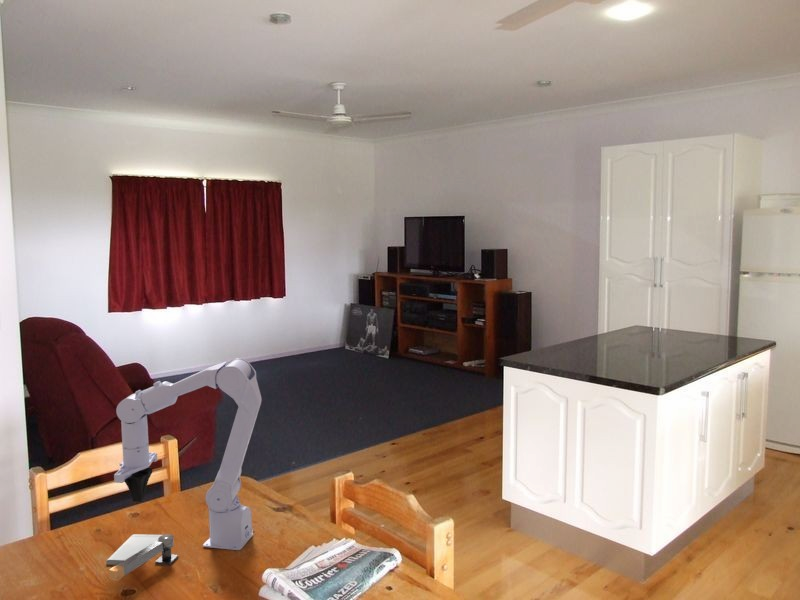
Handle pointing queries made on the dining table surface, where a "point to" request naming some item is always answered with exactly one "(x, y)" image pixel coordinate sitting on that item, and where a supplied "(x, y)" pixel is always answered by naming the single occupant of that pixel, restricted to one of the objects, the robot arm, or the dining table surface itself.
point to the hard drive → (132, 547)
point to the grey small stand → (166, 558)
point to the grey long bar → (141, 557)
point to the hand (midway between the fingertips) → (138, 500)
